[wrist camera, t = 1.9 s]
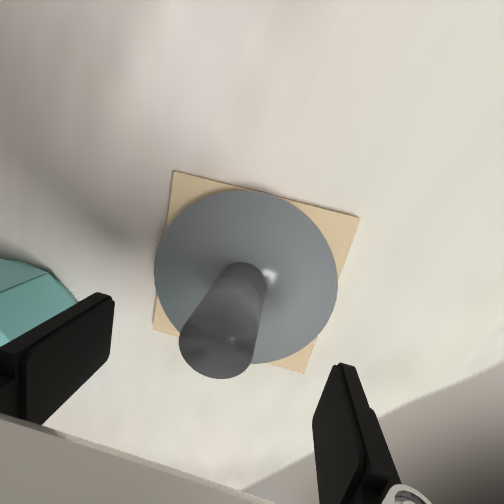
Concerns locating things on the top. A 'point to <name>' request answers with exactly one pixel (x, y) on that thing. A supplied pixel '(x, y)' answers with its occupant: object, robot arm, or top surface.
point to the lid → (244, 281)
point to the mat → (329, 222)
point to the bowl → (28, 298)
